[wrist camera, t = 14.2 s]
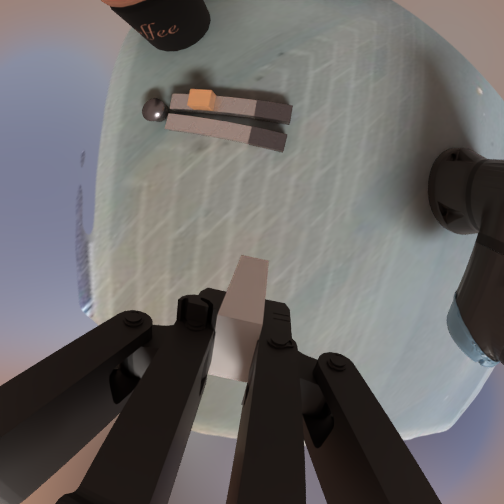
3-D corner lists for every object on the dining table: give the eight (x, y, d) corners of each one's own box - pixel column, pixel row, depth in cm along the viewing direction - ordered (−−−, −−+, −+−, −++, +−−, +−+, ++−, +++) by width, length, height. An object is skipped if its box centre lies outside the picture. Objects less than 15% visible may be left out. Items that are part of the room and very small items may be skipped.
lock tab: (193, 109, 35) (187, 105, 32) (195, 94, 34) (190, 88, 31) (213, 110, 35) (208, 106, 32) (216, 95, 34) (211, 90, 31)
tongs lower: (148, 123, 38) (140, 120, 35) (153, 96, 37) (145, 92, 34) (286, 137, 38) (287, 135, 35) (291, 109, 37) (292, 105, 34)
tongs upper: (170, 130, 38) (164, 128, 36) (174, 115, 38) (168, 112, 35) (282, 152, 39) (283, 151, 36) (286, 136, 38) (287, 134, 35)
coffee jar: (139, 42, 34) (83, -1, 17) (177, -1, 31) (139, -56, 14) (184, 63, 35) (136, 12, 18) (225, 17, 32) (201, -48, 15)
